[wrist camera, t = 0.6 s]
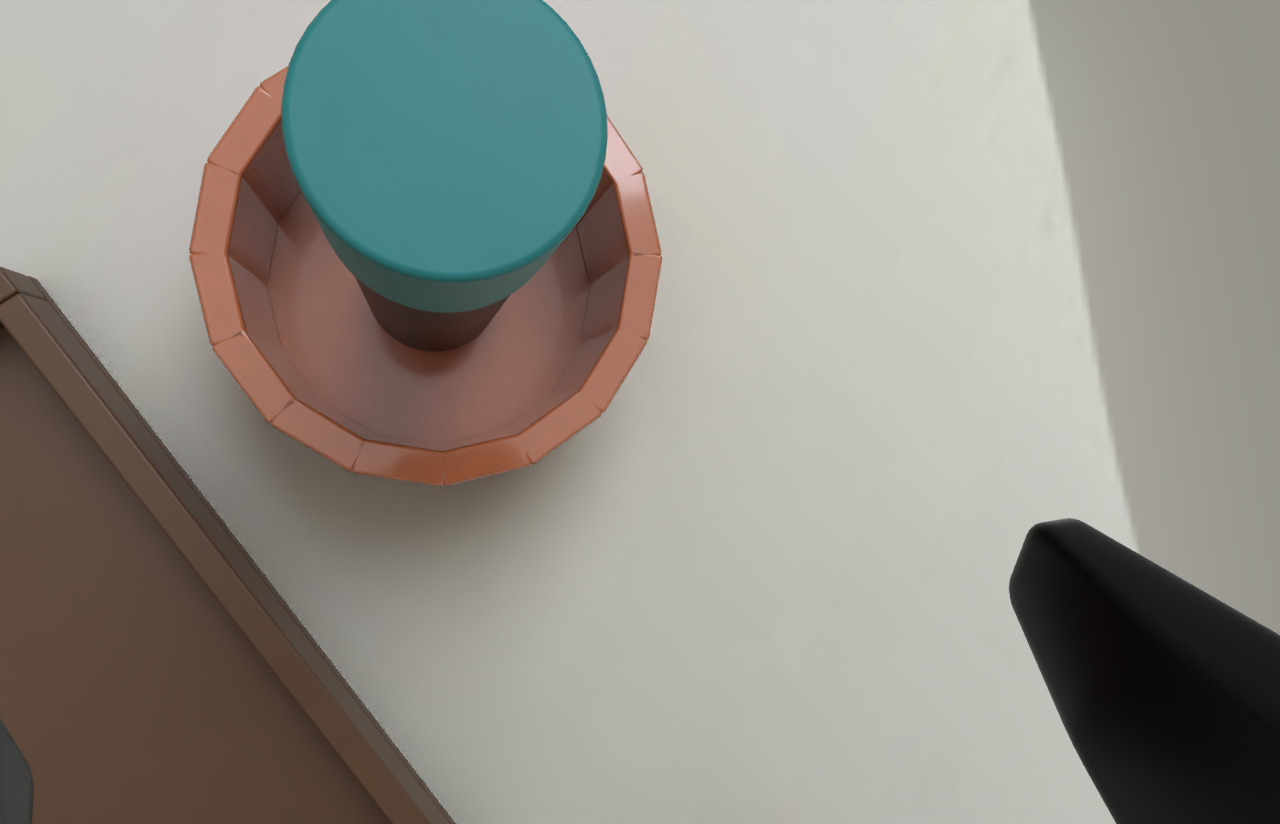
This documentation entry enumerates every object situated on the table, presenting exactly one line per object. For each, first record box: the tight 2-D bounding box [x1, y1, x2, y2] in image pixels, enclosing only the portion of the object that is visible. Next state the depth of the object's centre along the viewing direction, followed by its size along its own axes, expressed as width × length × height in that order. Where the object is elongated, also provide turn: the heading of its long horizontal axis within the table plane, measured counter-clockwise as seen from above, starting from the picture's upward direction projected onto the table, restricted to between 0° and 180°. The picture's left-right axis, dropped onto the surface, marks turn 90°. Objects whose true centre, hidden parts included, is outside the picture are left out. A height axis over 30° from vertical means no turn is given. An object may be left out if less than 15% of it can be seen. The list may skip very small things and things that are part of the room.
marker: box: [281, 0, 608, 351], centre depth 16 cm, size 3×3×12 cm
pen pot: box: [189, 66, 662, 486], centre depth 20 cm, size 8×8×5 cm
